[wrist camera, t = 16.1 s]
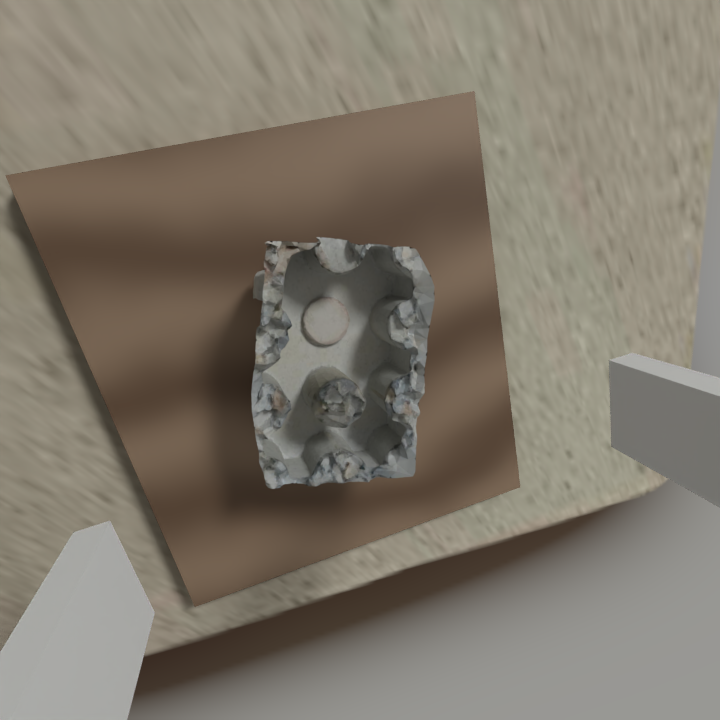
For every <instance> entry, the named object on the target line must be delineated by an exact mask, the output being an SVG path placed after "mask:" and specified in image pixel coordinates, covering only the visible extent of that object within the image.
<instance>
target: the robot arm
mask: <svg viewBox="0 0 720 720" xmlns="http://www.w3.org/2000/svg"><path fill="white" fill-rule="evenodd" d="M609 379H610V414H611V447H613V448H615V449H617V450H618V451H620V452H622V453H624V454H626V455H627V456H629V457H631V458H633V459H634V460H636V461H638V462H640V463H642V464H643V465H645V466H647V467H649V468H650V469H652V470H654V471H656V472H658V473H659V474H661V475H663V476H665V477H666V478H668V479H670V480H672V481H674V482H675V483H677V484H679V485H681V486H682V487H684V488H686V489H688V490H690V491H691V492H693V493H695V494H697V495H698V496H700V497H702V498H704V499H706V500H707V501H709V502H711V503H713V504H714V505H716V506H718V507H720V378H718V377H715V376H711V375H708V374H704V373H701V372H697V371H694V370H690V369H687V368H683V367H680V366H676V365H673V364H670V363H666V362H663V361H659V360H656V359H652V358H649V357H645V356H642V355H638V354H635V353H630V354H627V355H624V356H621V357H618V358H614V359H611V360H609ZM154 613H155V612H154V610H153V608H152V606H151V604H150V602H149V600H148V598H147V596H146V594H145V592H144V589H143V587H142V585H141V583H140V581H139V579H138V577H137V575H136V573H135V571H134V569H133V567H132V565H131V563H130V561H129V559H128V557H127V555H126V552H125V550H124V548H123V546H122V544H121V542H120V540H119V538H118V536H117V534H116V532H115V530H114V528H113V526H112V524H111V522H110V521H107V522H104V523H101V524H98V525H95V526H92V527H89V528H86V529H83V530H79V531H76V532H73V534H72V536H71V537H70V539H69V540H68V542H67V544H66V545H65V547H64V549H63V550H62V552H61V554H60V555H59V557H58V558H57V560H56V562H55V563H54V565H53V567H52V568H51V570H50V572H49V573H48V575H47V576H46V578H45V580H44V581H43V583H42V585H41V586H40V588H39V590H38V591H37V593H36V595H35V596H34V598H33V599H32V601H31V603H30V604H29V606H28V608H27V609H26V611H25V613H24V614H23V616H22V617H21V619H20V621H19V622H18V624H17V626H16V627H15V629H14V631H13V632H12V634H11V635H10V637H9V639H8V640H7V642H6V644H5V645H4V647H3V649H2V650H1V652H0V720H127V718H128V714H129V710H130V707H131V703H132V699H133V695H134V691H135V687H136V683H137V679H138V676H139V672H140V668H141V663H142V660H143V656H144V652H145V648H146V645H147V641H148V637H149V633H150V629H151V625H152V621H153V617H154Z"/></svg>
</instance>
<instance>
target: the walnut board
mask: <svg viewBox="0 0 720 720" xmlns="http://www.w3.org/2000/svg"><path fill="white" fill-rule="evenodd" d="M6 178H7V180H8V182H9V185H10V187H11V189H12V191H13V194H14V196H15V198H16V200H17V203H18V205H19V207H20V210H21V212H22V214H23V216H24V219H25V221H26V223H27V226H28V228H29V230H30V232H31V235H32V237H33V239H34V242H35V244H36V246H37V248H38V251H39V253H40V255H41V257H42V260H43V262H44V264H45V267H46V269H47V271H48V273H49V276H50V278H51V280H52V283H53V285H54V287H55V289H56V292H57V294H58V296H59V298H60V301H61V303H62V305H63V308H64V310H65V312H66V314H67V317H68V319H69V321H70V324H71V326H72V328H73V330H74V333H75V335H76V337H77V340H78V342H79V344H80V346H81V349H82V351H83V353H84V355H85V358H86V360H87V362H88V365H89V367H90V369H91V371H92V374H93V376H94V378H95V381H96V383H97V385H98V387H99V390H100V392H101V394H102V396H103V399H104V401H105V403H106V406H107V408H108V410H109V412H110V415H111V417H112V419H113V422H114V424H115V426H116V428H117V431H118V433H119V435H120V438H121V440H122V442H123V444H124V447H125V449H126V451H127V453H128V456H129V458H130V460H131V463H132V465H133V467H134V469H135V472H136V474H137V476H138V479H139V481H140V483H141V485H142V488H143V490H144V492H145V494H146V497H147V499H148V501H149V504H150V506H151V508H152V510H153V513H154V515H155V517H156V520H157V522H158V524H159V526H160V529H161V531H162V533H163V535H164V538H165V540H166V542H167V545H168V547H169V549H170V551H171V554H172V556H173V558H174V561H175V563H176V565H177V567H178V570H179V572H180V574H181V577H182V579H183V581H184V583H185V586H186V588H187V590H188V592H189V595H190V597H191V599H192V602H193V604H194V606H195V607H196V606H199V605H201V604H204V603H207V602H210V601H212V600H215V599H218V598H220V597H223V596H226V595H229V594H231V593H234V592H237V591H239V590H242V589H245V588H248V587H250V586H253V585H256V584H258V583H261V582H264V581H267V580H269V579H272V578H275V577H277V576H280V575H283V574H286V573H288V572H291V571H294V570H296V569H299V568H302V567H305V566H307V565H310V564H313V563H315V562H318V561H321V560H324V559H326V558H329V557H332V556H334V555H337V554H340V553H343V552H345V551H348V550H351V549H353V548H356V547H359V546H362V545H364V544H367V543H370V542H372V541H375V540H378V539H381V538H383V537H386V536H389V535H391V534H394V533H397V532H400V531H402V530H405V529H408V528H410V527H413V526H416V525H419V524H421V523H424V522H427V521H429V520H432V519H435V518H437V517H440V516H443V515H446V514H448V513H451V512H454V511H456V510H459V509H462V508H465V507H467V506H470V505H473V504H475V503H478V502H481V501H484V500H486V499H489V498H492V497H494V496H497V495H500V494H503V493H505V492H508V491H511V490H513V489H516V488H519V487H520V481H519V473H518V464H517V455H516V447H515V438H514V429H513V421H512V412H511V403H510V395H509V386H508V378H507V369H506V360H505V352H504V343H503V334H502V326H501V317H500V308H499V300H498V291H497V283H496V274H495V265H494V257H493V248H492V239H491V231H490V222H489V213H488V205H487V196H486V187H485V179H484V170H483V162H482V153H481V144H480V136H479V127H478V118H477V110H476V101H475V92H474V91H473V92H467V93H462V94H456V95H451V96H445V97H440V98H434V99H428V100H423V101H417V102H412V103H406V104H401V105H395V106H390V107H384V108H378V109H373V110H367V111H362V112H356V113H351V114H345V115H339V116H334V117H328V118H323V119H317V120H312V121H306V122H300V123H295V124H289V125H284V126H278V127H273V128H267V129H262V130H256V131H250V132H245V133H239V134H234V135H228V136H223V137H217V138H211V139H206V140H200V141H195V142H189V143H184V144H178V145H172V146H167V147H161V148H156V149H150V150H145V151H139V152H134V153H128V154H122V155H117V156H111V157H106V158H100V159H95V160H89V161H83V162H78V163H72V164H67V165H61V166H56V167H50V168H44V169H39V170H33V171H28V172H22V173H17V174H11V175H6ZM317 237H324V238H334V239H342V240H348V241H349V242H350V243H354V244H359V245H365V244H381V245H388V246H391V247H411V248H414V249H416V250H417V251H418V253H419V255H420V257H421V258H422V260H423V262H424V264H425V266H426V268H427V270H428V272H429V273H430V275H431V278H432V281H433V284H434V297H435V301H434V306H433V312H432V317H431V322H430V327H429V332H428V338H427V357H426V364H425V374H424V381H425V393H424V395H423V396H422V398H421V399H420V401H419V404H418V407H419V410H420V415H419V416H418V417H417V422H416V433H417V445H416V466H415V473H414V476H413V477H403V478H383V477H375V478H374V479H372V480H370V481H369V482H347V483H343V484H341V483H322V484H320V485H318V486H316V487H313V486H307V485H305V484H300V483H293V484H284V485H282V487H280V488H276V489H271V488H268V487H267V486H266V481H265V478H264V473H263V470H262V468H261V466H260V463H259V451H258V446H257V442H256V435H255V429H254V421H253V415H252V398H251V391H252V381H253V372H254V366H255V359H256V352H255V348H256V330H257V327H259V325H260V319H261V309H262V303H263V301H261V300H258V299H256V298H254V299H253V287H254V277H255V275H256V273H257V272H259V271H262V270H264V259H265V255H266V248H267V245H266V244H265V242H267V241H290V242H300V243H316V242H318V240H317Z"/></svg>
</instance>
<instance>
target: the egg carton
mask: <svg viewBox="0 0 720 720" xmlns="http://www.w3.org/2000/svg"><path fill="white" fill-rule="evenodd" d="M317 240H318V242H316V243H300V242H290V241H267V242H265V244H266V245H267V248H266V255H265V259H264V270H262V271H259V272H257V273H256V275H255V277H254V287H253V299H254V298H256V299H258V300H261V301H263V303H262V309H261V319H260V325H259V327H257V330H256V348H255V352H256V359H255V366H254V372H253V381H252V391H251V398H252V415H253V421H254V429H255V435H256V442H257V446H258V451H259V463H260V466H261V468H262V470H263V473H264V478H265V481H266V486H267V487H268V488H271V489H276V488H280V487H282V485H284V484H293V483H300V484H305V485H307V486H313V487H316V486H318V485H320V484H322V483H341V484H343V483H347V482H369V481H370V480H372V479H374V478H375V477H383V478H403V477H413V476H414V473H415V466H416V445H417V433H416V422H417V417H418V416H419V415H420V410H419V407H418V404H419V401H420V399H421V398H422V396H423V395H424V393H425V381H424V374H425V364H426V357H427V338H428V332H429V327H430V322H431V317H432V312H433V306H434V301H435V297H434V284H433V281H432V278H431V275H430V273H429V272H428V270H427V268H426V266H425V264H424V262H423V260H422V258H421V257H420V255H419V253H418V251H417V250H416V249H414V248H411V247H391V246H388V245H381V244H365V245H359V244H354V243H350V242H349V241H348V240H342V239H334V238H324V237H317Z"/></svg>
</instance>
